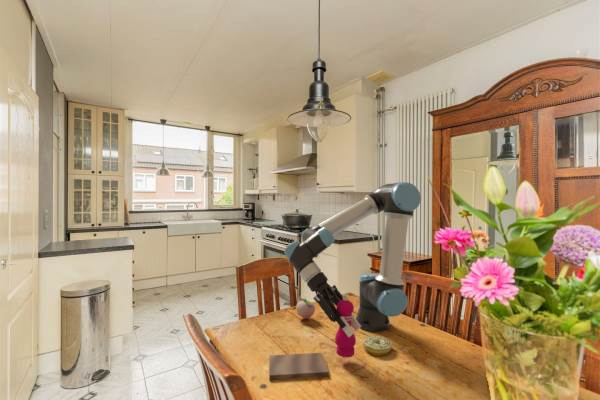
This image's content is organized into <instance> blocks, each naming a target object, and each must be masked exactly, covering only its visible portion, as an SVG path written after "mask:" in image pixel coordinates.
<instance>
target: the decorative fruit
mask: <svg viewBox="0 0 600 400" xmlns="http://www.w3.org/2000/svg"><path fill="white" fill-rule="evenodd" d="M295 307H296V308H295V310H296V314H297V315H298V316H299V317H301V318H303V319H305V320H307V319H309V318H312V317H313V315H314V314H315V311H316V306H315V304H314V303H313V302H311V301H309V300H308V299H306V297H305V298H301V299H300V301H298V303H297V304H296V306H295Z"/></svg>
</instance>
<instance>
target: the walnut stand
mask: <svg viewBox="0 0 600 400" xmlns="http://www.w3.org/2000/svg"><path fill="white" fill-rule="evenodd" d="M268 362H269V363H268V364H269V365H268V366H269V367H268V369H269V372H268V373H269V376H268V377H269V378H268V379H269V381H277V380H294V379H309V378H310V379H313V378H323V377H324V378H325V377H326V378H327V377H328V378H329V375H330V373H329V369H328V366H327V363H326V361H325V357H324V354H323V352H312V353H311V352H309V353H307V352H306V353H294V354H293V353H290V354H288V353H287V354H271V355H270V354H269V358H268Z"/></svg>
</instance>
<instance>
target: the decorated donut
mask: <svg viewBox="0 0 600 400" xmlns="http://www.w3.org/2000/svg"><path fill="white" fill-rule="evenodd" d="M362 345H363V349H364V350H365V351H366V352H367V353H369V354H371V355H373V356H379V357H382V356H386V355H387V356H388V354H390V352H391V351H392V348H393V344H392V343H391V342H390V340H388V338H387V339H386V338H385V337H382V336H379V335H377V336H376V335H374V336H373V335H372V336H367V337H365V338H364V339H363V341H362Z"/></svg>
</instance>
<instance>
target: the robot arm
mask: <svg viewBox="0 0 600 400" xmlns="http://www.w3.org/2000/svg"><path fill="white" fill-rule="evenodd" d="M421 197H422V196H421V192H420V190H419V189H418V188H417V186H416V185H414V184H413V183H411V182H407V181H406V182H405V181H399V182H394V183H386V184H383V185H381V186H379V187H378V188H377V189H375V190H373V191H372V192H370V193H368V194H366V195H365V196H364V199H362V200H359V201H358V202H356V203H354V204H352V205H351V206H349V207H347V208H345V209H344V210H342V211H340V212H339V213H336V214H335V215H333V216H331V217H329V218H327V219H325V220H324V221H322V222H320V223H318V224H317V225H315V226H313V227H310V228H305V230H303V231H302V233H301V240H302V242H300V241H299V240H294V241H292V242H291V243H289V244H288V245H287V246H286V247H285V248H284V251H283V252H284V255H285V257H286V258H287V260H288V261H289V263H290V265H292V266H293V268H294V269H295V271H296V272H297V274H298V275H299V276H300V277H301V278H302V280H303V281H304V283H306V285H307V287H308V288H309V290H310V291H311V292H315V295H314V297H313V300H314V301H315V302H316V303H317V304H318V305H319V307H320V308H321V310H322V311H323V313H325V315H326V316H327V318H328V319H329V321H331V322H332V323H335V322H336V323H337V324H338V327H339V326H340V327H341V328H342V329H343V330H344V332H345V333H346V335H347V336H348V337H350V336H351V335H353V334H354V335H355V333H356V332H357V330H359V329H362V330H365V331H368V332H369V331H370V332H375V333H376V332H378V333H379V332H384V331H387V330H389V329H390V327H391V326H390V325H391V322H390V318H392V317H397V316H399V315H401V314H402V313H403V312H404V311H405V310H406V308H407V306H408V300H409V299H408V296H407V295H406V292H404V288H405V282H404V280H402V272H403V265H404V256H405V249H406V241H407V233H408V227H409V226H408V225H409V221H410V219H412V218H413V217H414V213H415V212H414V211H415V210H416V209H417V208H418V207H419V205H421V201H422V199H421ZM381 212H383V214H384V215H385V218H386V221H385V228H384V229H385V230H384V237H383V243H382V251H381V252H382V253H381V260H380V267H379V273H364V274H361V275H360V276H359V281H358V282H359V307H358V310H357V314H356V316H354V314H352V320H351V327H350V325H349V324H348V323H347V321H346V320H345V319H344V317H343V316H342V317H340V314H339V313H338V311H337V304H338V302H339V301H341V300H343V296H344V295H342V293H341V292H340V291H339V290H338V287H337V286H336V284H333V285H332V286H331V285H330V283H328V280H329V279H328V277H327V276H326V275H325V273H324V272H322V270H321V268H320V266H318V264H317V263H316V262H315V261H314V258H316V257H317V256H318V255H319V254H321V253H322V252H324V251H325V250H326V249H328V248H330V247H331V245H332V244H334V243H335V237H334V236H335V235H337V234H339V233H341V232H342V231H344V230H346V229H348V228H349V227H351V226H353V225H355V224H357V223H358V222H360V221H362V220H364V219H366V218H367V217H369V216H371V215H373V214H374V215H377V214H379V213H381Z"/></svg>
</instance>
